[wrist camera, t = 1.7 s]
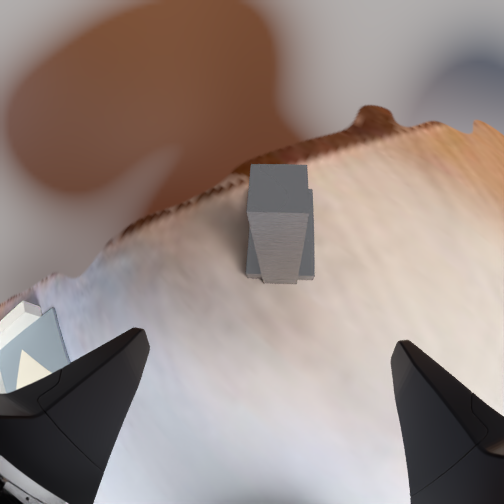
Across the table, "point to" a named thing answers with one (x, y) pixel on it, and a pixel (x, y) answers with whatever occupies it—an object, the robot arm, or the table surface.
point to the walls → (17, 325)
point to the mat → (33, 353)
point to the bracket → (280, 224)
